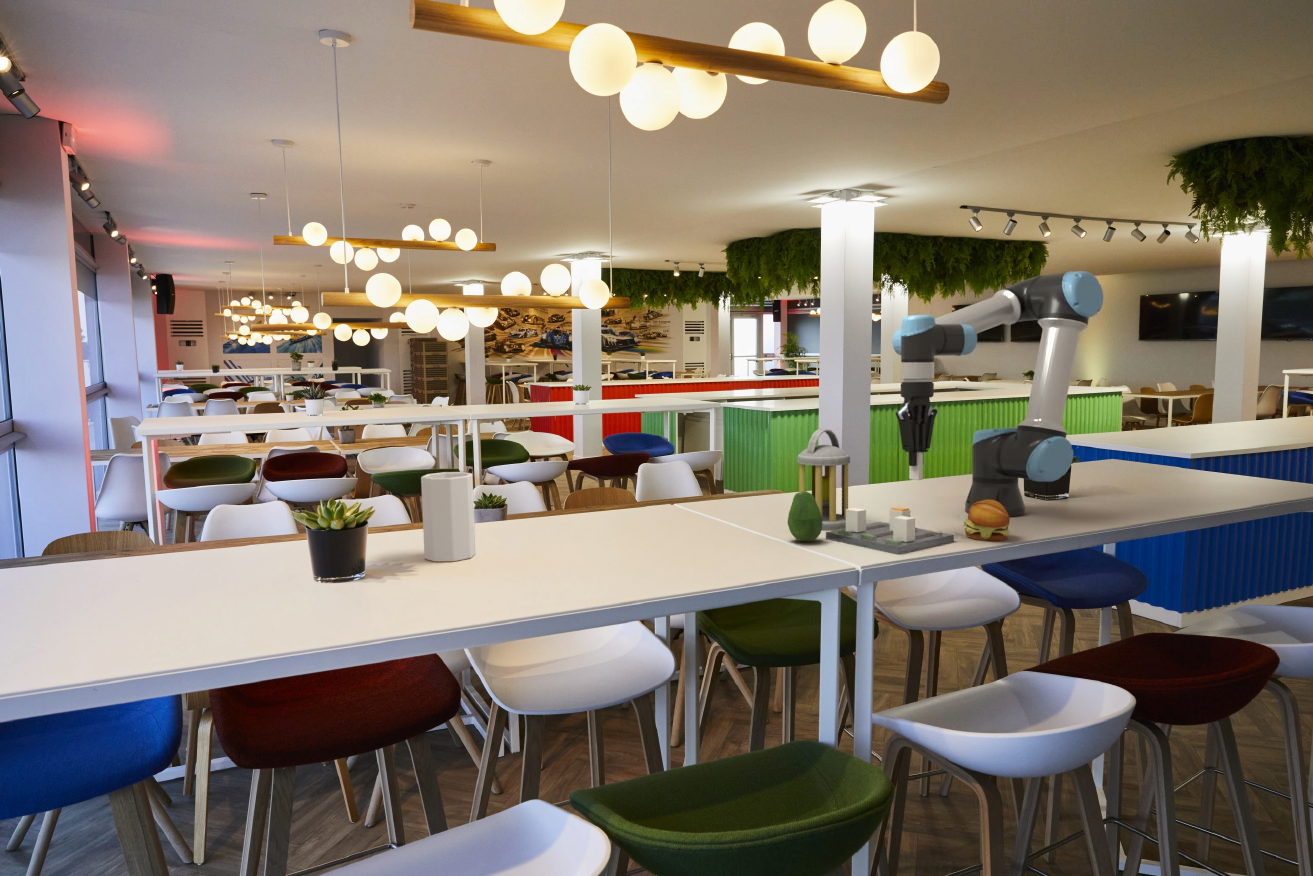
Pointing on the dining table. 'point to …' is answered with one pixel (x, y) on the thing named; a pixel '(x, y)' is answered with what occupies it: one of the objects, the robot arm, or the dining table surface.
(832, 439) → the lantern
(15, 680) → the dining table surface
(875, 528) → the panel
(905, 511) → the toggle mid
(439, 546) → the cup
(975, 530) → the cheeseburger
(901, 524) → the toggle high
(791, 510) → the avocado
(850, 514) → the toggle low
